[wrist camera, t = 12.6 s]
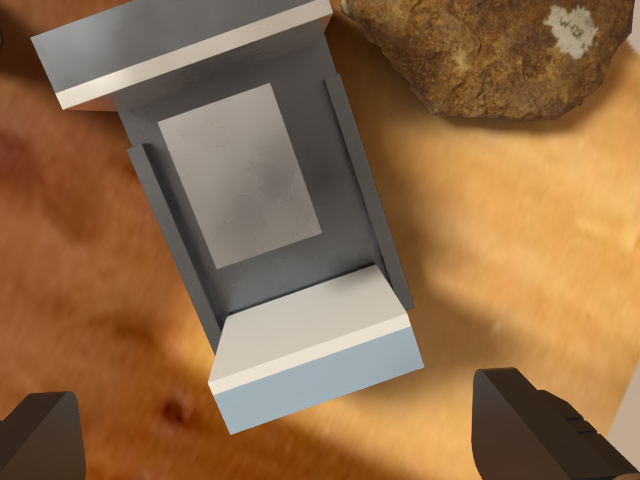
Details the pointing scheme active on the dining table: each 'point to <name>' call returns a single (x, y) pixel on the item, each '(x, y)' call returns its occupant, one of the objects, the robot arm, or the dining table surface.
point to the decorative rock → (497, 51)
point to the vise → (211, 86)
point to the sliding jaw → (311, 349)
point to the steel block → (241, 175)
